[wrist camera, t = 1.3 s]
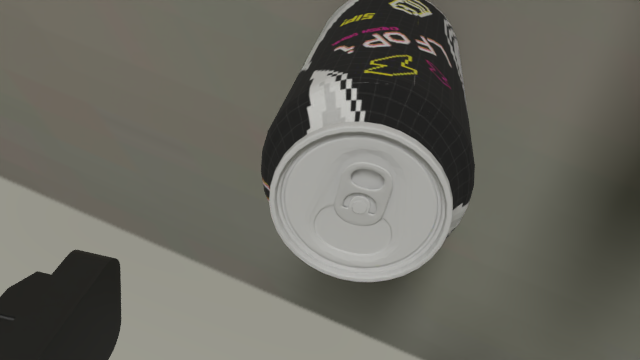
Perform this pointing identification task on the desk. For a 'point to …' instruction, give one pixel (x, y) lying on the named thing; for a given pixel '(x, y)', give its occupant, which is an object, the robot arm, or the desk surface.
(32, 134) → the desk surface
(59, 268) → the robot arm
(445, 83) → the beverage can
